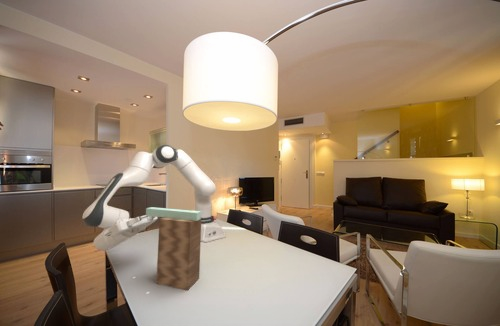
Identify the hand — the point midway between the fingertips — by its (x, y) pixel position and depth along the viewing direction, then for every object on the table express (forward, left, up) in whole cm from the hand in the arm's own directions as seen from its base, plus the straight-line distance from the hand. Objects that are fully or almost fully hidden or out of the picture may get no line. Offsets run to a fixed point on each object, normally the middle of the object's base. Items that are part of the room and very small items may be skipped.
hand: (148, 215), depth 80 cm
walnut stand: (-11, +11, -25) cm, 29 cm away
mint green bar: (-8, +9, 0) cm, 12 cm away
